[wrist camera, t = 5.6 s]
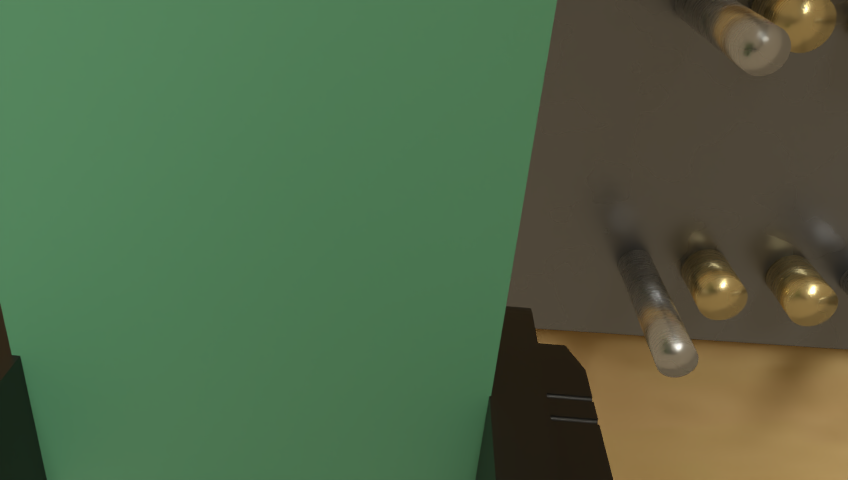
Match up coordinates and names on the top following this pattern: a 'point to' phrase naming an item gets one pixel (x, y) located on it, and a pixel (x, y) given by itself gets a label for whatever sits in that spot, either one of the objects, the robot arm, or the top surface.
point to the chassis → (690, 175)
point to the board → (263, 230)
